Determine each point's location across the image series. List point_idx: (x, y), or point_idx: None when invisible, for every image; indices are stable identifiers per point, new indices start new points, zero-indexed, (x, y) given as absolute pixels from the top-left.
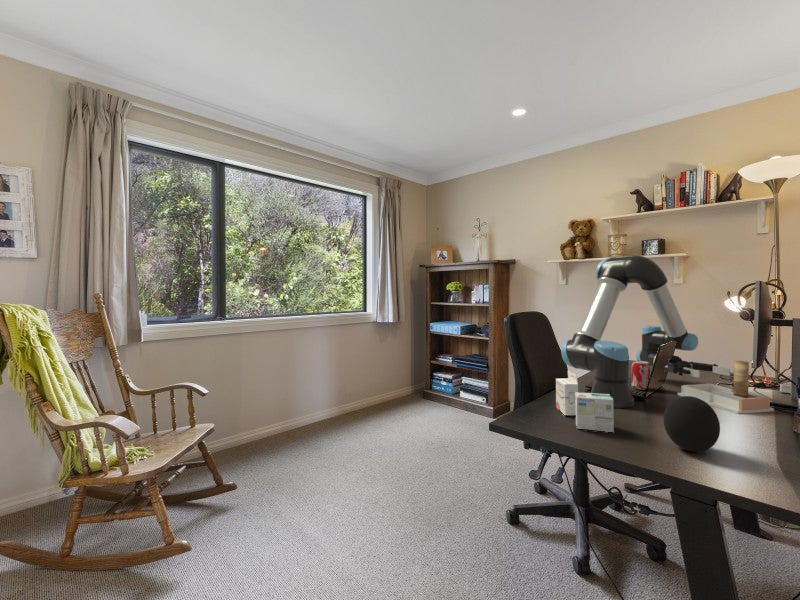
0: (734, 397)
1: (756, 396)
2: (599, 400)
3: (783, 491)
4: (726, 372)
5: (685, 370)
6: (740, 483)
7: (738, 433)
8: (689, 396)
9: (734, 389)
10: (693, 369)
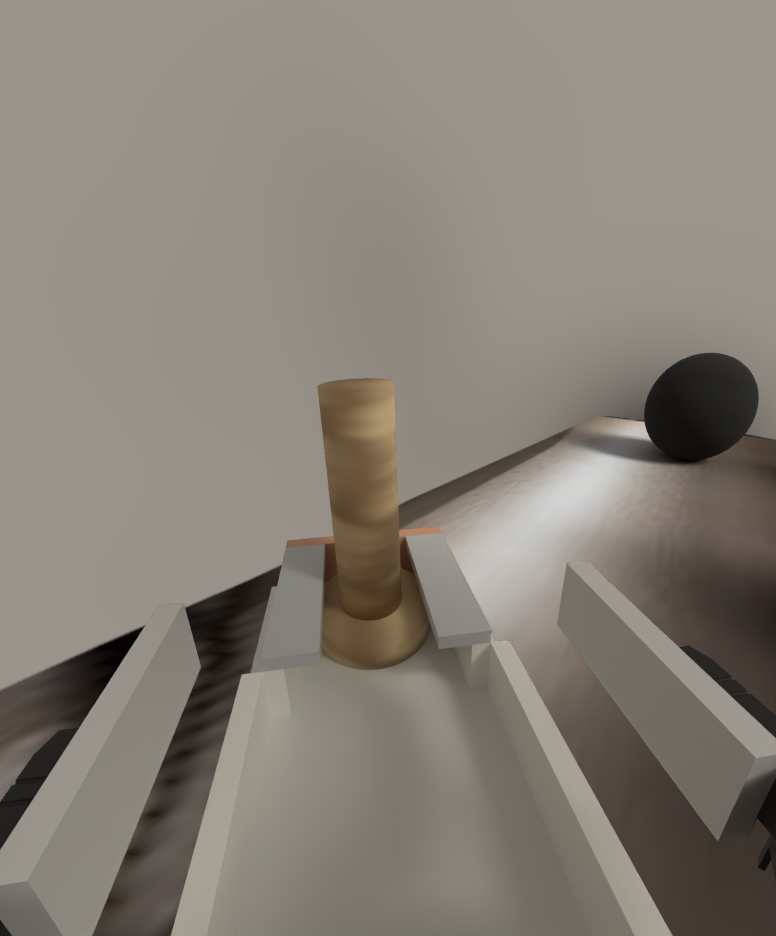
0: (446, 543)
1: (324, 553)
2: None
3: (588, 424)
4: (185, 657)
5: (730, 678)
6: (630, 428)
7: (556, 491)
8: (714, 353)
9: (399, 553)
10: (622, 613)
